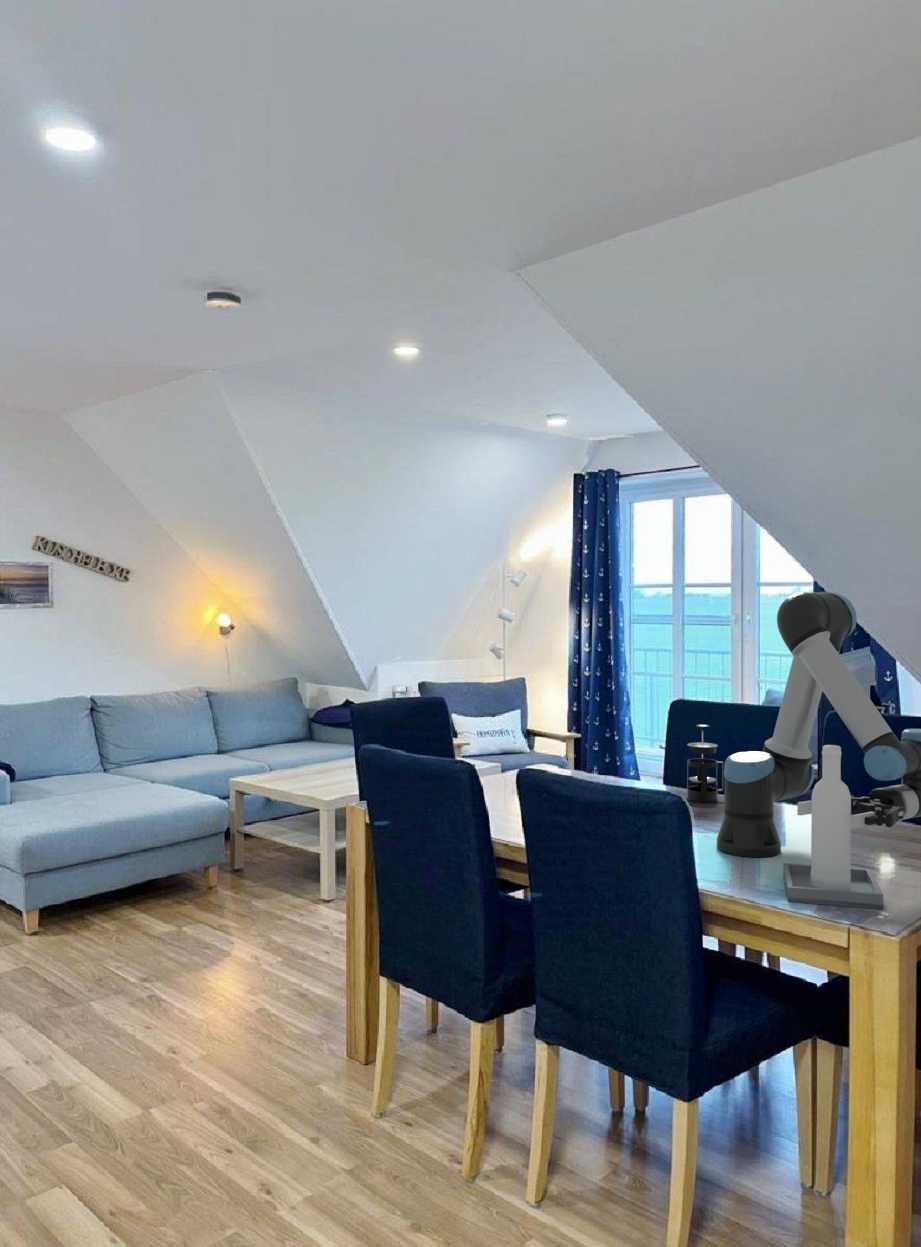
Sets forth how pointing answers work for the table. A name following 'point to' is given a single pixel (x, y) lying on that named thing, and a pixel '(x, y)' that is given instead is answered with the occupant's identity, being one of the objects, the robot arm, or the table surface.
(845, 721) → the robot arm
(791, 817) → the table surface
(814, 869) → the bottle
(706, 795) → the french press
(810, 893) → the tray
